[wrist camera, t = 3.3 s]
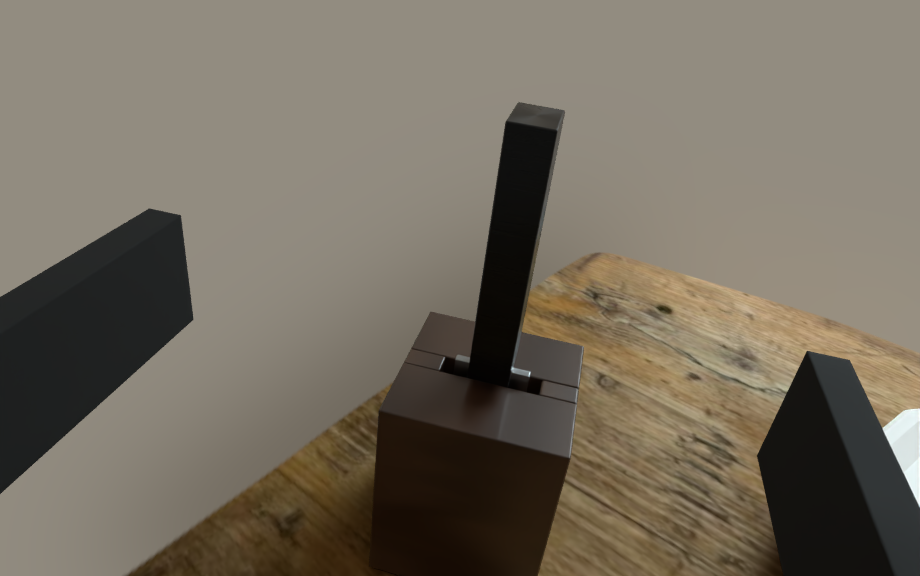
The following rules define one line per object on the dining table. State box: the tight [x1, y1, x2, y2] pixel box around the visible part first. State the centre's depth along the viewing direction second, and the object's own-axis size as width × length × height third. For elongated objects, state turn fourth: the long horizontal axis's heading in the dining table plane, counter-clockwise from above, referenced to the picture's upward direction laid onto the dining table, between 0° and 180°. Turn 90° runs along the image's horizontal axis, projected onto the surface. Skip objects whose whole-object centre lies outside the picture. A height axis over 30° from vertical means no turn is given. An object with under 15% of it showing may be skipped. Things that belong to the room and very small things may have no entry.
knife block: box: [369, 312, 584, 576], centre depth 28 cm, size 7×7×9 cm
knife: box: [453, 102, 565, 392], centre depth 26 cm, size 3×2×20 cm
